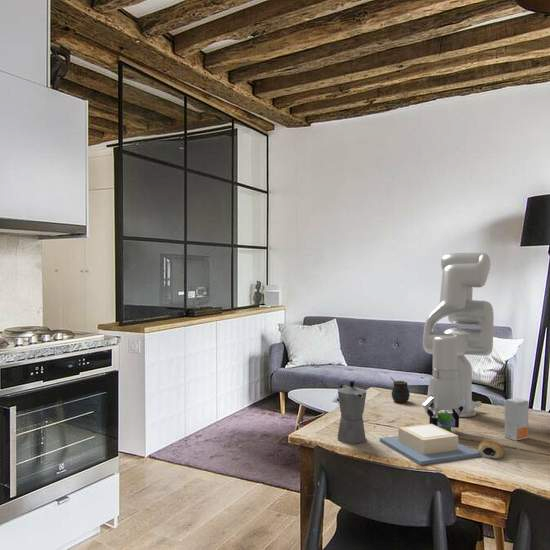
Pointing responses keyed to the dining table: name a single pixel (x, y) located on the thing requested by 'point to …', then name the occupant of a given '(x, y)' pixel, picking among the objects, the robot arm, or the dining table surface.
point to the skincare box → (516, 419)
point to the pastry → (490, 450)
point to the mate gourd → (400, 391)
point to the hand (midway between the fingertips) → (444, 427)
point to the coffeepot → (351, 414)
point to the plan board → (429, 457)
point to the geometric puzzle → (445, 421)
